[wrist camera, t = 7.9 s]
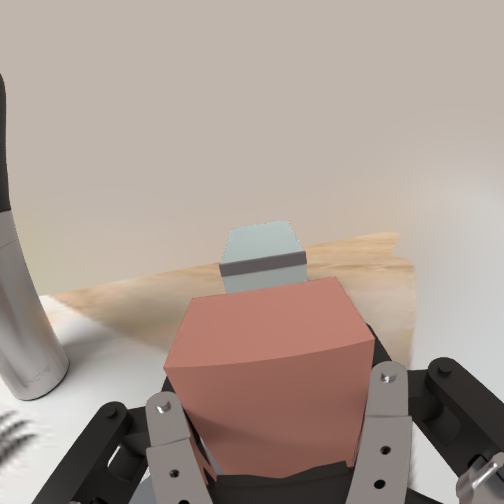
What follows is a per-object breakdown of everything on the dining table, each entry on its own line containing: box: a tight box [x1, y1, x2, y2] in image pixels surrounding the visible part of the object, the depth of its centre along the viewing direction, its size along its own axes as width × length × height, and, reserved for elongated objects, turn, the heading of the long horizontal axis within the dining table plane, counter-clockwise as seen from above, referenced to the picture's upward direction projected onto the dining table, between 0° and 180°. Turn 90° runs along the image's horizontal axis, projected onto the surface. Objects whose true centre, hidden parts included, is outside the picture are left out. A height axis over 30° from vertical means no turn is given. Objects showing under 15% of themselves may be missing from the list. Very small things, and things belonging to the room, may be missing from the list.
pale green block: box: [219, 220, 308, 294], centre depth 23 cm, size 11×6×9 cm, turn 0°
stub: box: [163, 277, 375, 478], centre depth 10 cm, size 4×6×9 cm
